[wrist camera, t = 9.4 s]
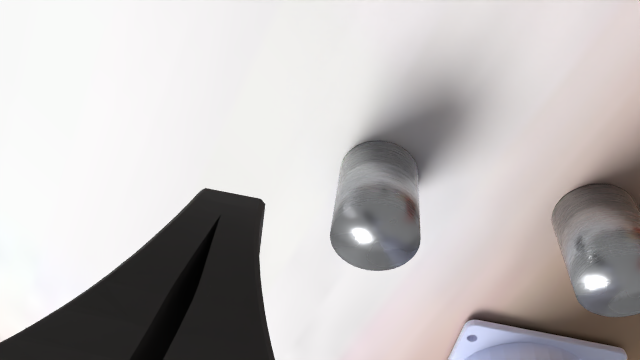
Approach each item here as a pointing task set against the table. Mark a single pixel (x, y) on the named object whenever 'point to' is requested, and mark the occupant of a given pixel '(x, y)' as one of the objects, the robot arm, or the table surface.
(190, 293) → the robot arm
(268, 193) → the table surface
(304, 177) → the table surface
